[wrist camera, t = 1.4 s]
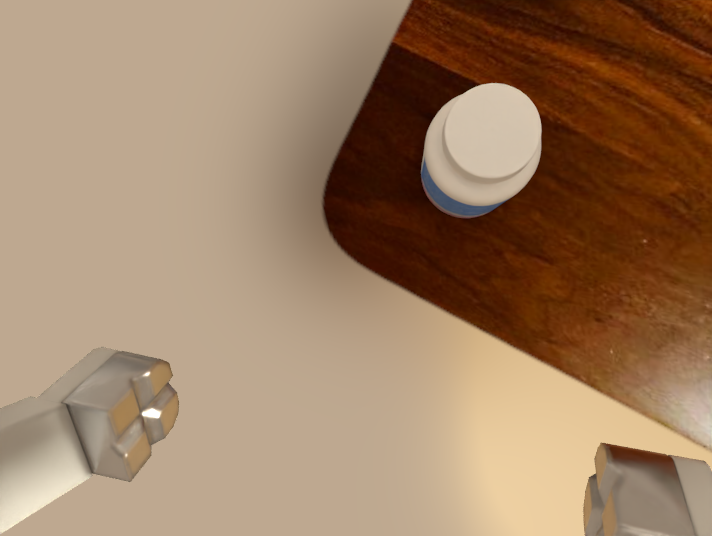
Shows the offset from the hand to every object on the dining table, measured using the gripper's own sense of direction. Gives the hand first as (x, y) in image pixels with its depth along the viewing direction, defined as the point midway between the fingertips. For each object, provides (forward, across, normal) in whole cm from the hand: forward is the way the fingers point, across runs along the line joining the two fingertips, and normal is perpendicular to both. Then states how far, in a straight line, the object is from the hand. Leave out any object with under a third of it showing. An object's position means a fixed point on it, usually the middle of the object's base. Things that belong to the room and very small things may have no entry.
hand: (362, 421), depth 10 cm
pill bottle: (+24, 0, +3) cm, 24 cm away
